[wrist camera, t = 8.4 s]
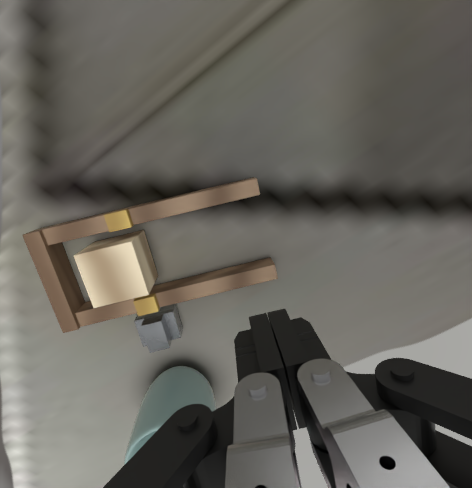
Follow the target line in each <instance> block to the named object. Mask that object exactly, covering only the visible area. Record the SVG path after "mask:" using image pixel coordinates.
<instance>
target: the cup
mask: <svg viewBox="0 0 472 488" xmlns="http://www.w3.org/2000/svg"><path fill="white" fill-rule="evenodd" d="M191 404H203V405H206V406H207V407H209V408H210V410H211V411H214V410H216V402H215V397H214V393H213V390H212V387H211V385H210V383H209V382H208V380H207V379H206V378H205V377H204V376H203V375H202V374H201V373H200V372H199V371H197V370H196V369H193V368H191V367H187V366H175V367H172V368H169V369H167V370H166V371H164V372H162V373H161V374H160V375H159V376H158V377H157V378H156V379H155V380H154V381H153V382H152V384H151V385H150V387H149V388H148V390H147V392H146V394H145V396H144V398H143V400H142V403H141V405H140V408H139V411H138V414H137V417H136V420H135V423H134V426H133V429H132V433H131V436H130V439H129V443H128V446H127V450H126V454H125V464H126V463H127V462H128V461H129V460H130V459H131V458H132V457H133V456H134V455H135V453H136V452H137V451H138V450H139V449H140V448H141V447H142V446H143V445H144V444H145V443H146V442H147V441H148V440H149V439H150V438H151V437H152V436H153V434H154V433H155V432H156V431H157V430H158V429H159V428H160V427H161V426H162V425H163V424H164V423H165V422H166V421H167V420H168V419H169V418H170V417H171V415H173V414H174V413H175V412H176V411H177V410H179V409H181V408H182V407H185V406H187V405H191Z"/></svg>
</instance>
